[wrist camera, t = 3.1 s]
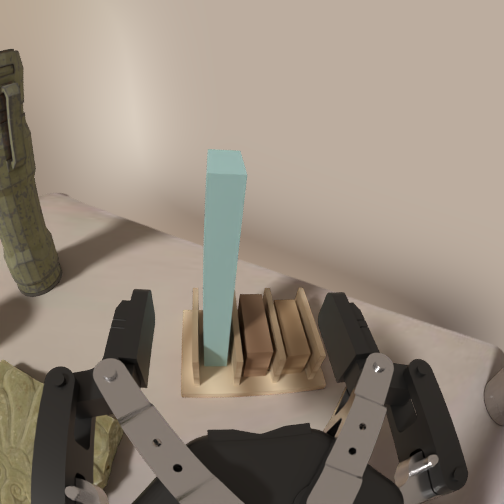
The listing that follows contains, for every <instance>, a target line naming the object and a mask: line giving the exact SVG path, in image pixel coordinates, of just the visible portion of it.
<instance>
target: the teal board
mask: <svg viewBox="0 0 504 504" xmlns="http://www.w3.org/2000/svg"><path fill="white" fill-rule="evenodd" d="M246 180H247V173H246V169H245V166H244V162H243V159H242V155H241V152H240V151H233V150H212V149H209V150H208V156H207V175H206V194H205V220H204V258H203V340H204V366H227V357H228V347H229V337H230V327H231V317H232V307H233V298H234V288H235V279H236V270H237V260H238V251H239V242H240V233H241V224H242V215H243V207H244V197H245V189H246Z"/></svg>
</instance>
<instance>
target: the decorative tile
mask: <svg viewBox="0 0 504 504" xmlns="http://www.w3.org/2000/svg"><path fill="white" fill-rule="evenodd" d="M43 386H44V384H43V383H41V382H39V381H37V380H35V379H34V378H32V377H30V376H29V375H27V374H26V373H24V372H23V371H21V370H19V369H17V368H15V367H14V366H12V365H11V364H9V363H8V362H6V361H5V360H1V362H0V504H31V474H32V459H33V449H34V440H35V432H36V425H37V418H38V412H39V407H40V401H41V396H42V391H43ZM123 431H124V430H123V429H122V427H121V426H120V424H119V422H118V420H116V419H114V418H112V417H110V416H108V415H103V416H97V417H96V423H95V438H94V466H93V484H94V485H97V486H98V487H100V488H101V489H102V490H103V489H104V487H105V486H106V485H107V481H108V479H109V476H110V472H111V465H112V462H113V460H114V456H115V454H116V451H117V446H118V444H119V443H120V441H121V437H122V435H123Z"/></svg>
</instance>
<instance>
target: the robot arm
mask: <svg viewBox="0 0 504 504" xmlns="http://www.w3.org/2000/svg"><path fill="white" fill-rule="evenodd" d="M318 325H319V329H320V332H321V335H322V338H323V341H324V344H325V347H326V350H327V353H328V356H329V359H330V363H331V366H332V369H333V372H334V375H335V378H336V382H337V383H339V382H345V383H346V387H345V389H344V391H343V393H342V396H341V398H340V400H339V402H338V405H337V407H336V409H335V411H334V413H333V415H332V417H331V419H330V421H329V422H328V424H327V425H326V427H325V428H324V430H323V431H320V430H316V429H311V428H310V424H309V423H305V424H297V425H288V426H284V427H281V428H278V429H275V430H272V431H269V432H266V433H263V434H256V433H250V432H244V431H239V430H234V429H232V430H208V435H206V436H202V437H199V438H196V439H194V440H192V441H190V442H189V443H187V444H186V445H185V444H184V442H183V441H182V440H181V439H180V438H179V437H178V435H177V434H176V433H175V432H174V430H173V429H172V428H171V427H170V426H169V424H168V423H167V422H166V420H165V419H164V418H163V417H162V415H161V414H160V413H159V411H158V410H157V409H156V408H155V406H154V405H153V404H151V403H150V402H149V401H148V399H147V398H146V397H145V395H144V394H143V392H142V391H141V389H140V387H142V388H147V384H148V375H149V366H150V357H151V349H152V341H153V334H154V327H155V312H154V306H153V300H152V294H151V290H143V289H134V290H133V293H132V297H131V301H126V300H122V302H121V303H120V304H119V305H118V307H117V308H116V310H115V313H114V317H113V321H112V324H111V328H110V332H109V336H108V340H107V344H106V348H105V353H104V357H103V359H102V361H100V362H99V363H98V364H97V365H96V366H95V368H93V369H90V370H87V371H81V372H75V373H72V372H71V370H69V369H68V368H66V367H55V368H53V369H52V370H50V371H49V372H48V374H47V375H46V378H45V382H44V386H43V391H42V396H41V401H40V407H39V412H38V418H37V425H36V432H35V440H34V449H33V459H32V474H31V504H109V502H108V498H107V495H106V493H105V492H104V491H103V490H102V489H101V488H100V487H98V486H97V485H94V484H93V466H94V438H95V423H96V417H97V416H103V415H108V414H114V415H115V417H116V418H117V420H118V422H119V424H120V426H121V427H122V429H123V430H124V432H125V434H126V435H127V436H128V438H129V439H130V441H131V442H132V444H133V445H134V447H135V448H136V449H137V451H138V452H139V454H140V455H141V456H142V458H143V459H144V460H145V462H146V463H147V464H148V466H149V467H150V468H151V469H152V471H153V472H154V473H155V475H156V476H157V477H156V478H155V479H154V480H153V481H152V482H151V483H150V484H149V486H148V487H147V488H146V489H145V490H144V491H143V492H142V493H141V494H140V495H139V496H138V498H137V499H136V500H135V501H134V502H133V503H132V504H419V503H422V502H425V501H428V500H432V499H435V498H437V497H440V496H443V495H446V494H449V493H451V492H454V491H456V490H459V489H461V488H462V487H463V486H464V485H465V483H466V481H467V477H468V471H467V467H466V463H465V460H464V456H463V453H462V450H461V446H460V443H459V440H458V437H457V434H456V431H455V428H454V425H453V422H452V419H451V417H450V414H449V411H448V408H447V406H446V403H445V400H444V398H443V395H442V393H441V390H440V388H439V385H438V383H437V380H436V378H435V376H434V373H433V371H432V369H431V367H430V365H429V364H428V363H427V362H425V361H424V360H421V359H415V360H413V361H412V362H411V363H410V364H409V365H402V364H396V363H392V361H391V359H390V358H389V357H388V356H386V355H384V354H382V353H380V352H379V350H378V348H377V345H376V343H375V341H374V339H373V336H372V334H371V332H370V330H369V328H368V325H367V323H366V321H364V317H363V315H362V313H361V310H360V309H359V308H358V307H357V306H356V305H355V304H354V303H349V301H348V299H347V297H346V295H345V293H343V292H338V293H328V294H327V295H326V298H325V300H324V303H323V305H322V308H321V310H320V313H319V316H318ZM411 399H412V401H411ZM484 399H485V405H486V408H487V411H488V413H489V414H490V416H491V418H492V419H493V420H494V421H495V422H496V423H497V424H499V425H502V426H504V367H503V368H502V369H501V370H500V371H499V372H498V373H497V374H496V375H495V376H494V377H493V378H492V379H491V380H490V381H489V382H488V383H487V385H486V388H485V393H484ZM412 402H413V404H412ZM413 405H414V407H413ZM414 408H415V410H414ZM415 411H416V413H415ZM385 414H387V418H388V421H389V425H390V428H391V432H392V435H393V439H394V443H395V447H396V451H397V455H398V459H399V463H400V464H399V465H398V466H397V469H396V473H395V475H394V479H395V483H393V482H392V481H390V480H389V479H388V478H386V477H385V476H383V475H382V474H381V473H379V472H378V471H377V470H375V469H374V468H373V467H371V466H370V465H369V464H367V463H368V461H369V459H370V456H371V454H372V451H373V448H374V446H375V443H376V440H377V438H378V435H379V432H380V429H381V426H382V423H383V420H384V417H385ZM416 414H417V416H416Z"/></svg>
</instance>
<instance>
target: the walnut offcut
mask: <svg viewBox="0 0 504 504" xmlns="http://www.w3.org/2000/svg"><path fill="white" fill-rule="evenodd" d="M238 323H239V331H240V339H241V347H242V355H243V366H242V372H243V377H253V376H266V373H267V370H268V367H269V364H270V360H271V357H272V354H273V348H272V343H271V338H270V333H269V328H268V324H267V319H266V314H265V309H264V304H263V299H262V294H240V298H239V306H238Z"/></svg>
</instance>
